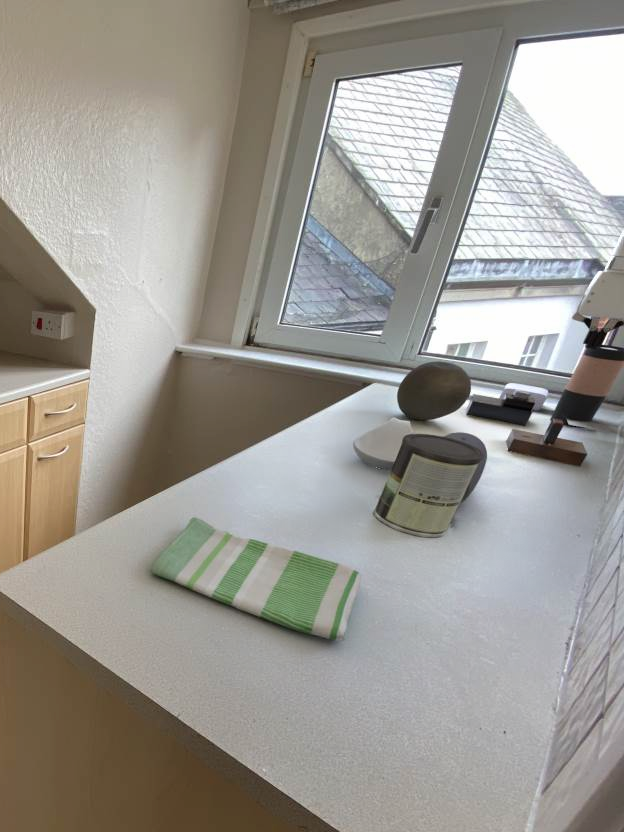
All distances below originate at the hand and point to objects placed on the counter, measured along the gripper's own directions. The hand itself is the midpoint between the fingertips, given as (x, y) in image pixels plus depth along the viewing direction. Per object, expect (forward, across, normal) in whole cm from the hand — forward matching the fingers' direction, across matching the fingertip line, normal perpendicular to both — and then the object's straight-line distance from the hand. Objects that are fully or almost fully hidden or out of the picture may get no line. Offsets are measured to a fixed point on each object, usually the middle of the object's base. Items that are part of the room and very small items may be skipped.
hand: (590, 347), depth 131 cm
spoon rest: (+20, +30, +55) cm, 66 cm away
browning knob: (+17, +3, +25) cm, 30 cm away
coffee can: (+20, +23, +86) cm, 91 cm away
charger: (+21, +5, -25) cm, 33 cm away
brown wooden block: (+20, +3, +25) cm, 32 cm away
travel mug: (+21, -4, -9) cm, 23 cm away
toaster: (+20, +11, -1) cm, 23 cm away
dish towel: (+20, +37, +122) cm, 129 cm away
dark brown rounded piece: (+20, +26, +18) cm, 37 cm away
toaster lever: (+15, +8, -1) cm, 17 cm away
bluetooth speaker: (+20, +20, +69) cm, 75 cm away
